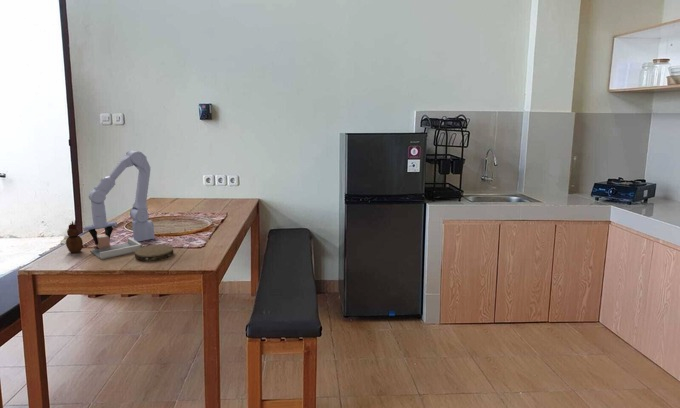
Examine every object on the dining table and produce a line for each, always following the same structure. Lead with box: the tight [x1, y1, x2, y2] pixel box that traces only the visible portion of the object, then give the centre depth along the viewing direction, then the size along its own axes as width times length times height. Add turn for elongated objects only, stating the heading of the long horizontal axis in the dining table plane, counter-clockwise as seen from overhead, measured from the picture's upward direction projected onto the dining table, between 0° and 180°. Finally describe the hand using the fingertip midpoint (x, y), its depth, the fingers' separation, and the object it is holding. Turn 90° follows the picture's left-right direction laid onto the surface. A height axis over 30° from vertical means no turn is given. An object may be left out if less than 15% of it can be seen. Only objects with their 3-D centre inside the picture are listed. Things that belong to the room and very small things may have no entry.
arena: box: [89, 237, 143, 260], centre depth 220 cm, size 18×16×3 cm
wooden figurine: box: [65, 219, 84, 254], centre depth 218 cm, size 7×6×15 cm
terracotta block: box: [94, 233, 111, 249], centre depth 228 cm, size 4×7×5 cm, turn 43°
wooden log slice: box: [134, 244, 174, 263], centre depth 213 cm, size 16×16×3 cm
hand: (102, 243), depth 228 cm, fingers closed on terracotta block, 4 cm apart
